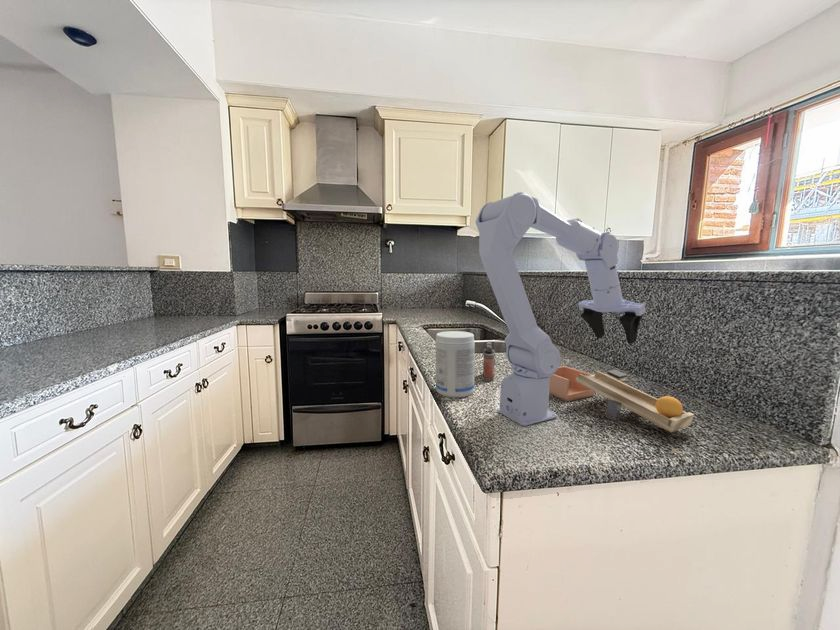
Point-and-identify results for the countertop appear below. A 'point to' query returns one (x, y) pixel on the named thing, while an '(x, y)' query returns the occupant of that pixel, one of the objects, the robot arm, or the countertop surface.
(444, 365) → the supplement tub
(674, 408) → the ball
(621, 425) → the countertop surface
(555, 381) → the tray
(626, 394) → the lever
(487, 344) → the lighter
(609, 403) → the pivot stand
